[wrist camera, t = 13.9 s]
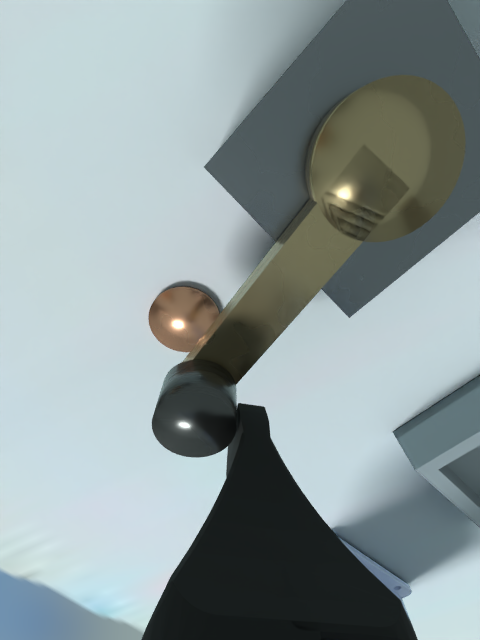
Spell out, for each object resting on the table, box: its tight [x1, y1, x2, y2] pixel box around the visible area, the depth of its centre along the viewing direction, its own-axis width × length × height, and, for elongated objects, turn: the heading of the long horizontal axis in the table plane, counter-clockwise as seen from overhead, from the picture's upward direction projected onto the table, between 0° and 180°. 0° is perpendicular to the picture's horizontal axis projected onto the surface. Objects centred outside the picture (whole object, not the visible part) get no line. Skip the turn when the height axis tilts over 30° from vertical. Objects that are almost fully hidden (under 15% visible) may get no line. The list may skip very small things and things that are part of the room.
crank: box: [152, 75, 466, 457], centre depth 10 cm, size 12×4×3 cm, turn 143°
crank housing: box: [149, 0, 480, 352], centre depth 12 cm, size 7×14×3 cm, turn 135°
